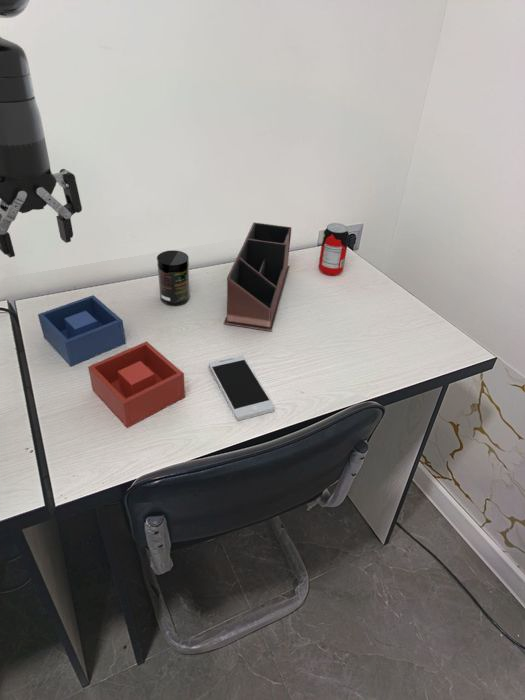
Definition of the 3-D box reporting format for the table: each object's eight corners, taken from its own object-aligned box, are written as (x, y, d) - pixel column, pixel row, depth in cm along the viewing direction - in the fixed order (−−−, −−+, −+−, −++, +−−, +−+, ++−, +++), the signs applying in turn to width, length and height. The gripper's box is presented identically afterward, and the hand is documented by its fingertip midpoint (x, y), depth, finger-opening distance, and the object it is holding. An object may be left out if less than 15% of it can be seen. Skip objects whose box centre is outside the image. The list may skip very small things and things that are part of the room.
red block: (134, 404, 85) (131, 384, 82) (120, 390, 87) (117, 371, 84) (156, 393, 87) (154, 373, 84) (142, 379, 90) (140, 360, 87)
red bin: (127, 428, 81) (123, 403, 78) (92, 390, 87) (87, 366, 84) (185, 397, 88) (184, 373, 84) (149, 364, 94) (146, 341, 90)
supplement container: (195, 295, 114) (194, 255, 108) (179, 309, 109) (177, 268, 103) (170, 288, 116) (168, 247, 110) (154, 301, 111) (150, 260, 105)
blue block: (78, 348, 96) (74, 329, 93) (68, 337, 98) (64, 318, 95) (100, 339, 98) (97, 320, 95) (89, 328, 101) (85, 310, 98)
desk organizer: (289, 267, 128) (293, 226, 121) (271, 332, 105) (275, 286, 98) (249, 261, 129) (251, 220, 122) (223, 324, 106) (223, 278, 99)
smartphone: (237, 421, 84) (237, 417, 83) (207, 365, 95) (207, 361, 94) (275, 410, 86) (275, 407, 86) (242, 358, 97) (242, 354, 96)
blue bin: (70, 366, 92) (65, 342, 89) (43, 337, 98) (37, 314, 95) (126, 343, 99) (122, 320, 95) (97, 317, 105) (93, 294, 102)
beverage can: (347, 271, 128) (355, 227, 120) (334, 279, 124) (341, 235, 116) (326, 262, 131) (333, 219, 123) (313, 271, 127) (319, 227, 119)
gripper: (-35, 149, 59) (0, 271, 69) (78, 134, 67) (94, 244, 77) (-56, 134, 63) (-20, 250, 73) (53, 121, 71) (72, 227, 81)
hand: (39, 247), depth 75 cm, fingers open, 8 cm apart
